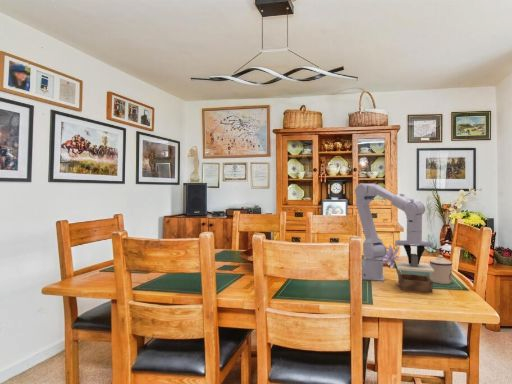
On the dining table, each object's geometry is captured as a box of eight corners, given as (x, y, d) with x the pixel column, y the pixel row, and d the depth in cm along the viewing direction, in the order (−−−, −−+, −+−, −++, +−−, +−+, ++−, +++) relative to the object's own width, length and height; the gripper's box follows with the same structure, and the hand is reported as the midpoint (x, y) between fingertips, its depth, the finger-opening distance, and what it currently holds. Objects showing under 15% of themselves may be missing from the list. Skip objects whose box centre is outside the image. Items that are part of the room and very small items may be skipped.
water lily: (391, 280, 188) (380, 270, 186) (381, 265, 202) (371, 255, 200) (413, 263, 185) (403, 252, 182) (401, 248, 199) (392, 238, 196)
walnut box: (400, 289, 147) (400, 279, 147) (398, 282, 159) (398, 273, 159) (432, 292, 144) (432, 282, 144) (428, 284, 155) (428, 275, 155)
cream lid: (397, 270, 144) (398, 257, 144) (395, 264, 157) (395, 251, 157) (434, 273, 140) (434, 259, 140) (428, 266, 153) (428, 253, 153)
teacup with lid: (454, 285, 155) (455, 258, 155) (431, 283, 157) (432, 257, 157) (446, 278, 167) (447, 253, 166) (425, 276, 169) (426, 252, 169)
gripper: (396, 231, 147) (395, 264, 147) (435, 233, 142) (434, 267, 142) (394, 229, 153) (394, 261, 153) (432, 230, 149) (431, 263, 149)
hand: (413, 263), depth 148 cm, fingers closed on cream lid, 2 cm apart
